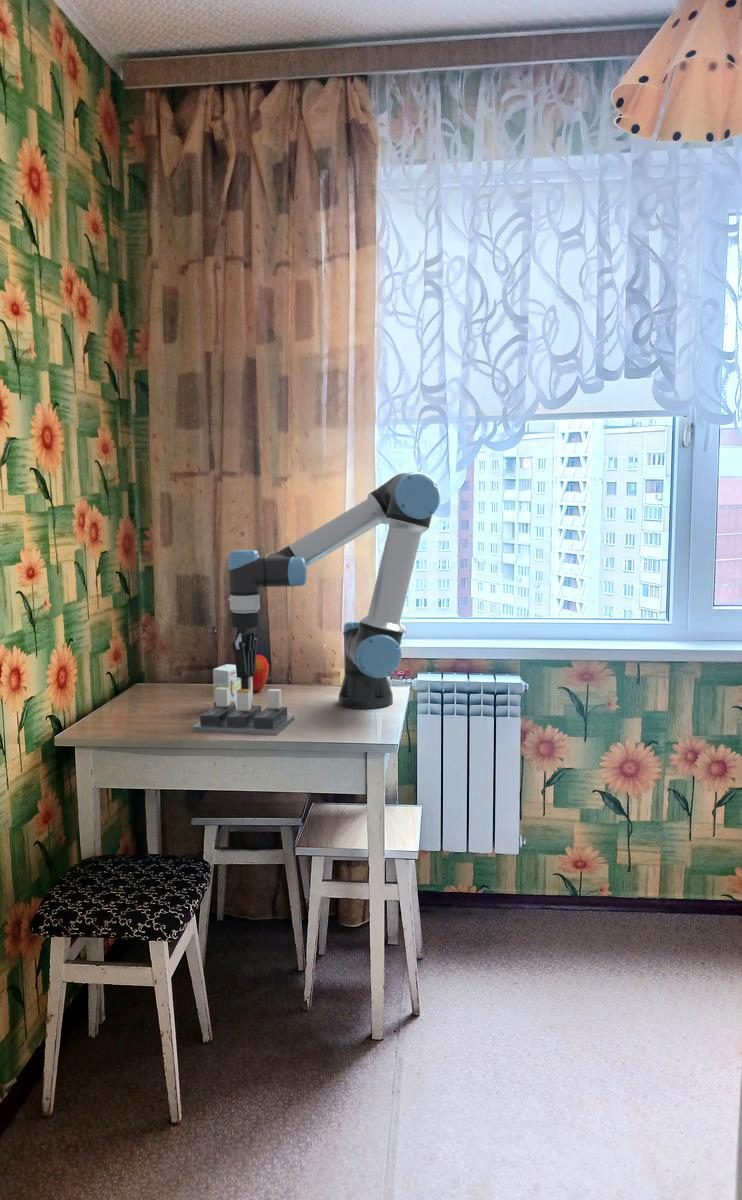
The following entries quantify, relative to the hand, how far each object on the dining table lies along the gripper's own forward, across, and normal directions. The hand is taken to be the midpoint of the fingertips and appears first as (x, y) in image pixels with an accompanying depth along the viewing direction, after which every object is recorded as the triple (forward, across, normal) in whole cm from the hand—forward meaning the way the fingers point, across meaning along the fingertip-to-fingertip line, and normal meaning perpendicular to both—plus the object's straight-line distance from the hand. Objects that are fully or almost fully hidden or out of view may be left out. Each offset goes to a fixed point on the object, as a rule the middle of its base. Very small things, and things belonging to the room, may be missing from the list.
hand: (247, 701), depth 235 cm
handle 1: (+1, 0, -7) cm, 7 cm away
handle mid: (+1, +3, 0) cm, 3 cm away
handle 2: (+1, -1, +7) cm, 7 cm away
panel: (+5, +3, 0) cm, 6 cm away
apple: (+6, -35, -10) cm, 37 cm away
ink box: (+6, -12, -10) cm, 16 cm away
